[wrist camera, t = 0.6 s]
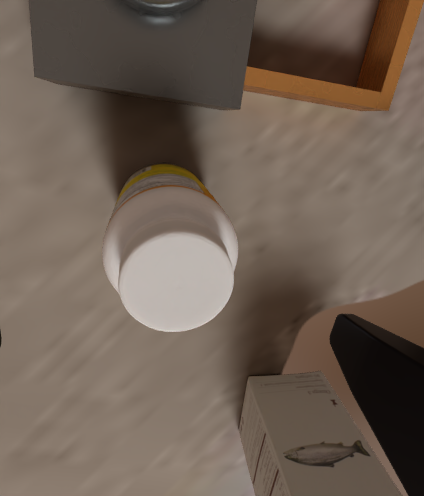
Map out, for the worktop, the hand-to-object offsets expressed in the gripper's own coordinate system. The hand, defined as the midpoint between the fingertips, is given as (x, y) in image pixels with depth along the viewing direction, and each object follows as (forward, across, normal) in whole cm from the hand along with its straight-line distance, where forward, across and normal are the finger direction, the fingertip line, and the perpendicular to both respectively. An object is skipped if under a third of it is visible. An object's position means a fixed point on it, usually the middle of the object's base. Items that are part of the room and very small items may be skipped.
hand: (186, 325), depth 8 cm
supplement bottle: (+13, 0, 0) cm, 13 cm away
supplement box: (+13, -12, +18) cm, 25 cm away
